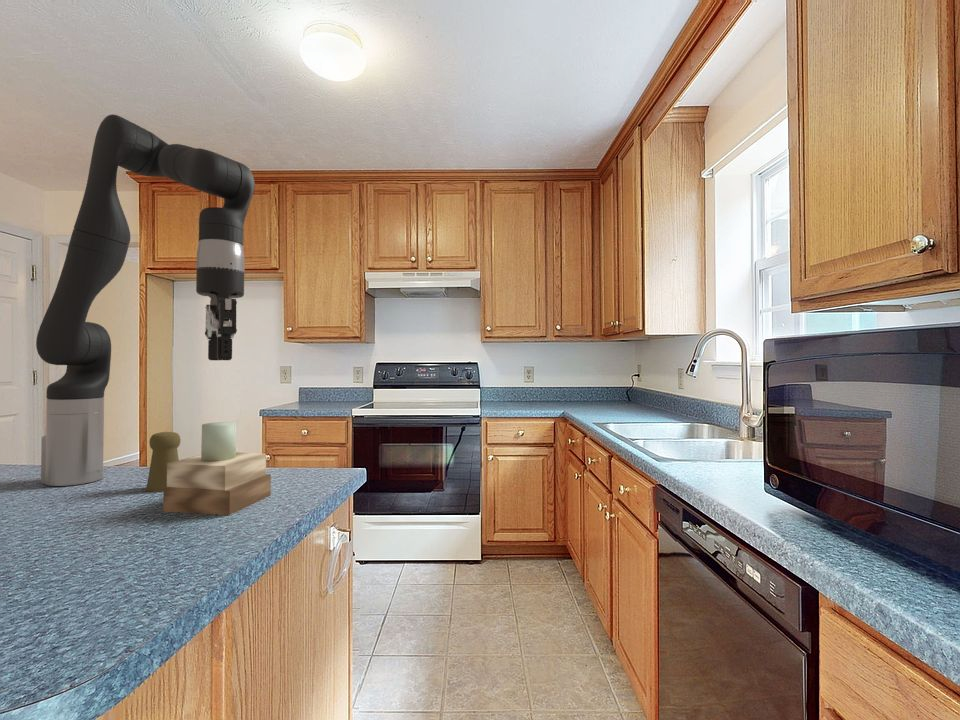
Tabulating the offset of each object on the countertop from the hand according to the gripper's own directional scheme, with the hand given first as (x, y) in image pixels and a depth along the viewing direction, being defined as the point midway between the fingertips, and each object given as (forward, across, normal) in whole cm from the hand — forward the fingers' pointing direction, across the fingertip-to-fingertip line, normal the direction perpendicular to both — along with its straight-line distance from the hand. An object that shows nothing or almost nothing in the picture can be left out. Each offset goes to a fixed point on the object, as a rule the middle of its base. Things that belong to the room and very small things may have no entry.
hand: (219, 360), depth 86 cm
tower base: (+26, 0, 0) cm, 26 cm away
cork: (+26, +18, +6) cm, 32 cm away
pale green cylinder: (+17, 0, 0) cm, 17 cm away
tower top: (+21, 0, 0) cm, 21 cm away
